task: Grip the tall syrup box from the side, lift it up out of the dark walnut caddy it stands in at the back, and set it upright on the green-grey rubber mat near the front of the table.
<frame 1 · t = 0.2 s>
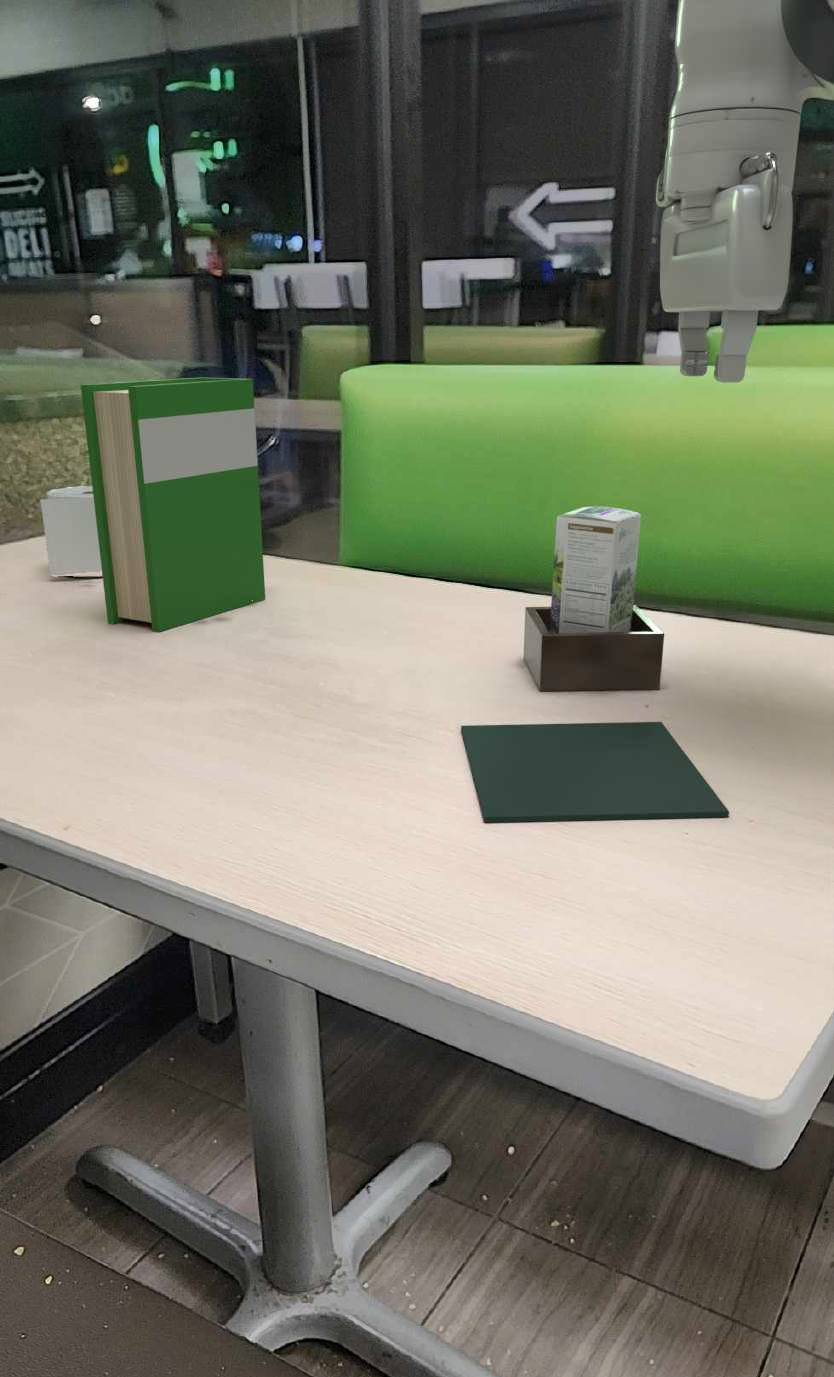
hand: (709, 379, 85), 26 cm above the table, tool pointing down, fingers open, 8 cm apart
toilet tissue: (98, 572, 147), on the table
mat: (581, 769, 81), on the table
hardback book: (190, 612, 127), on the table
caddy: (588, 673, 103), on the table
syrup box: (588, 675, 104), resting in caddy
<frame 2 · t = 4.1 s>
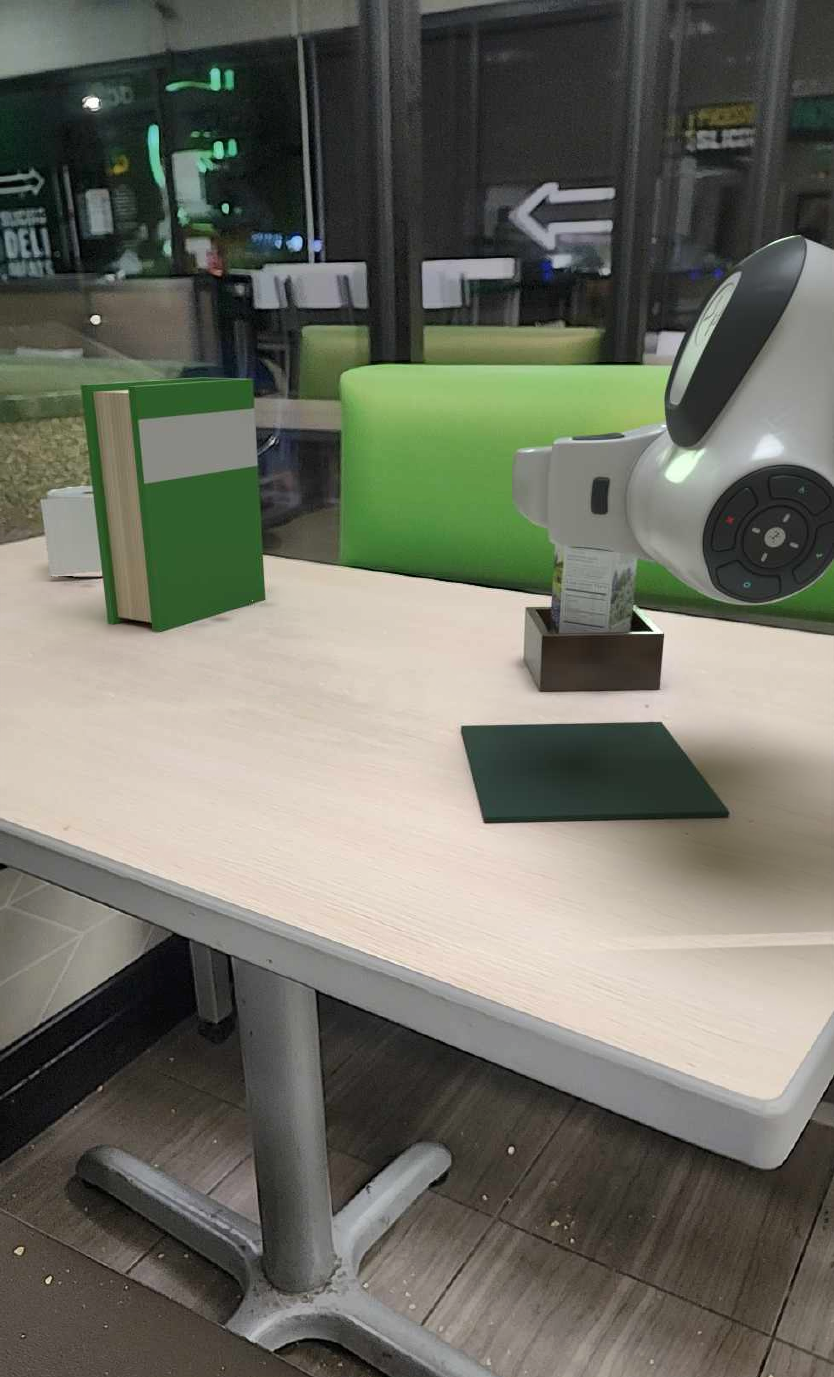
hand: (639, 467, 83), 20 cm above the table, tool horizontal, fingers open, 8 cm apart
nothing on the table moved.
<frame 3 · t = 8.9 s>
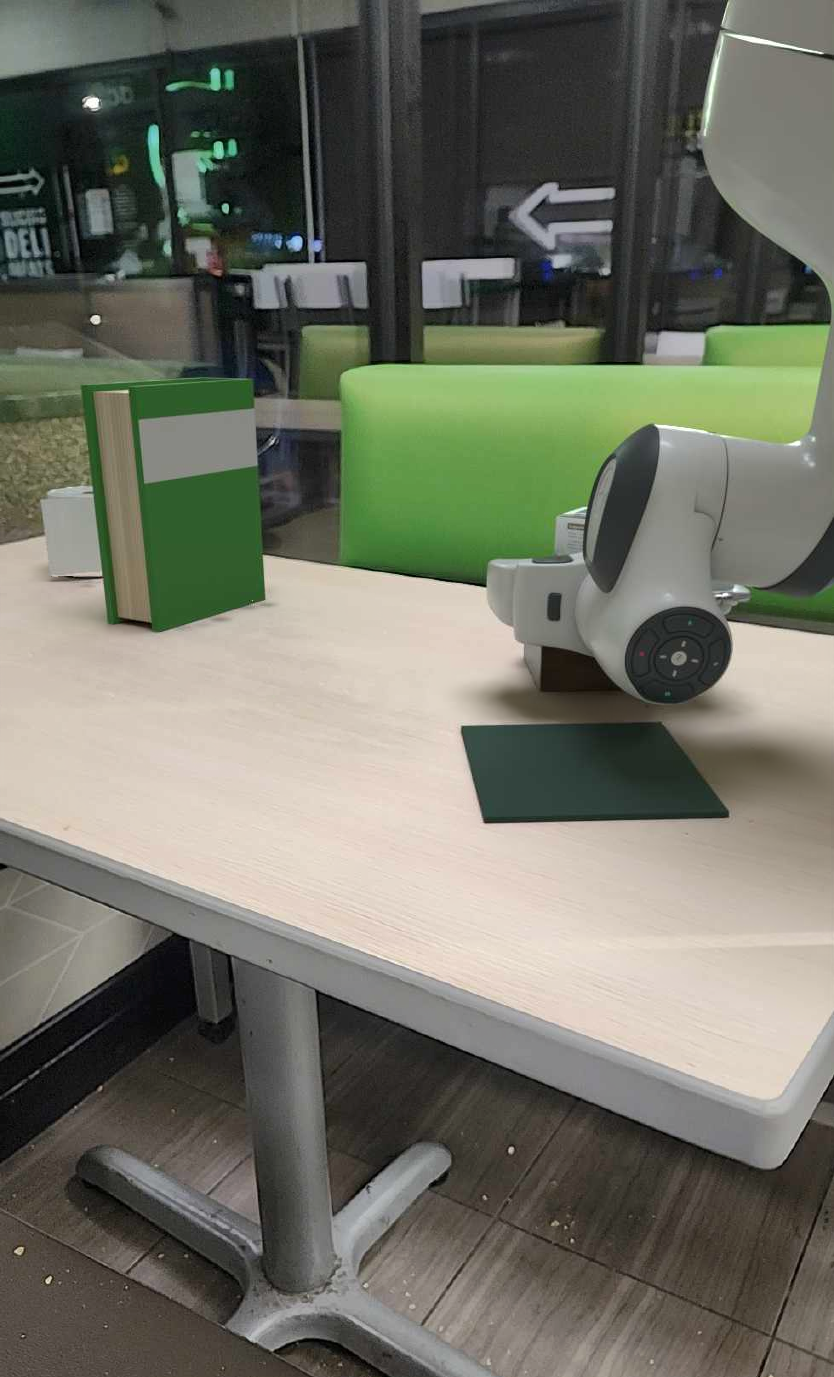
hand: (592, 566, 100), 10 cm above the table, tool horizontal, fingers closed on syrup box, 8 cm apart
syrup box: (588, 675, 104), resting in caddy, touching gripper
everything else where it was.
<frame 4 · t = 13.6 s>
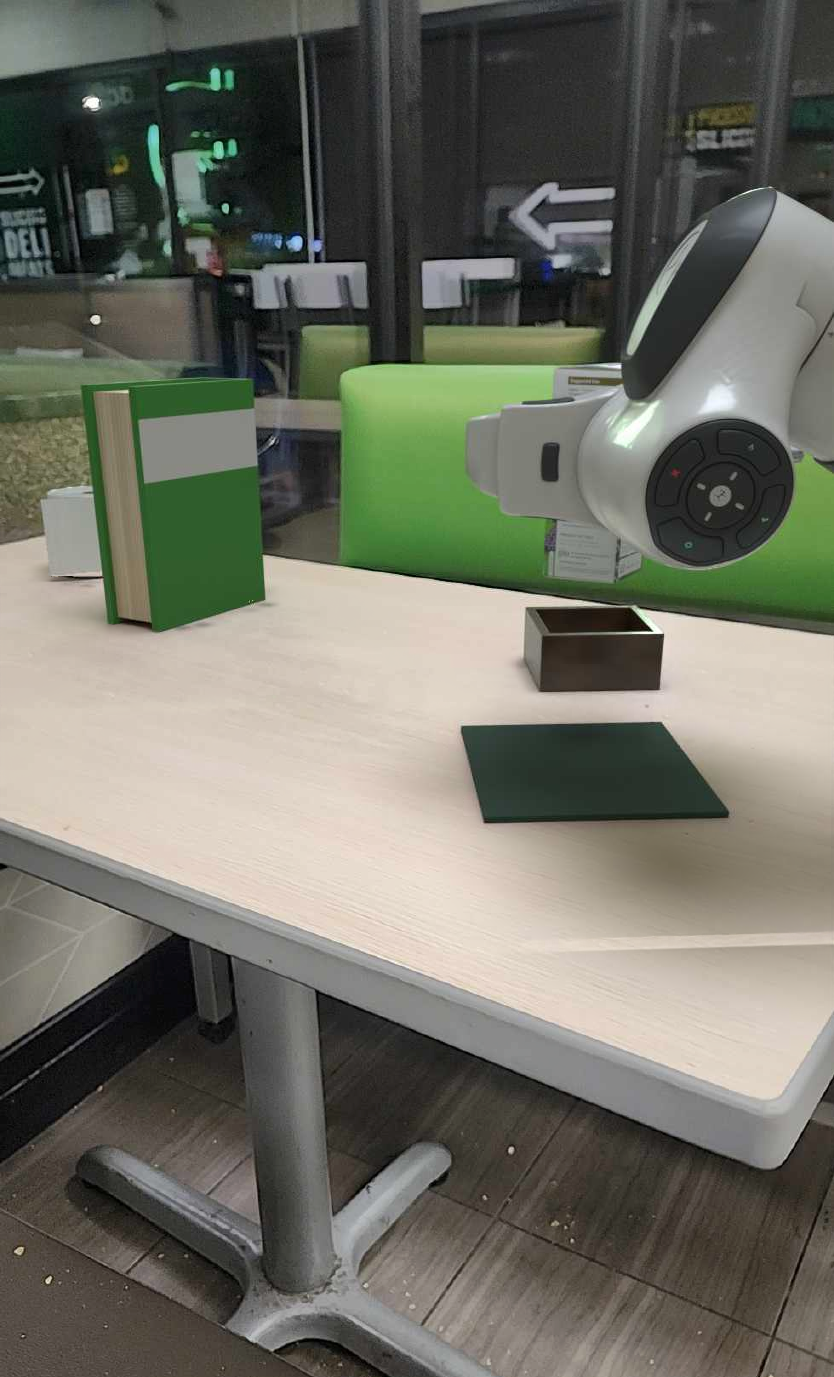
hand: (599, 438, 80), 22 cm above the table, tool horizontal, fingers closed on syrup box, 8 cm apart
syrup box: (594, 578, 83), point 12 cm above the table, touching gripper
everything else where it was.
when the fingers open (10 cm above the table, at t = 18.5 s): syrup box stays where it is, resting on mat.
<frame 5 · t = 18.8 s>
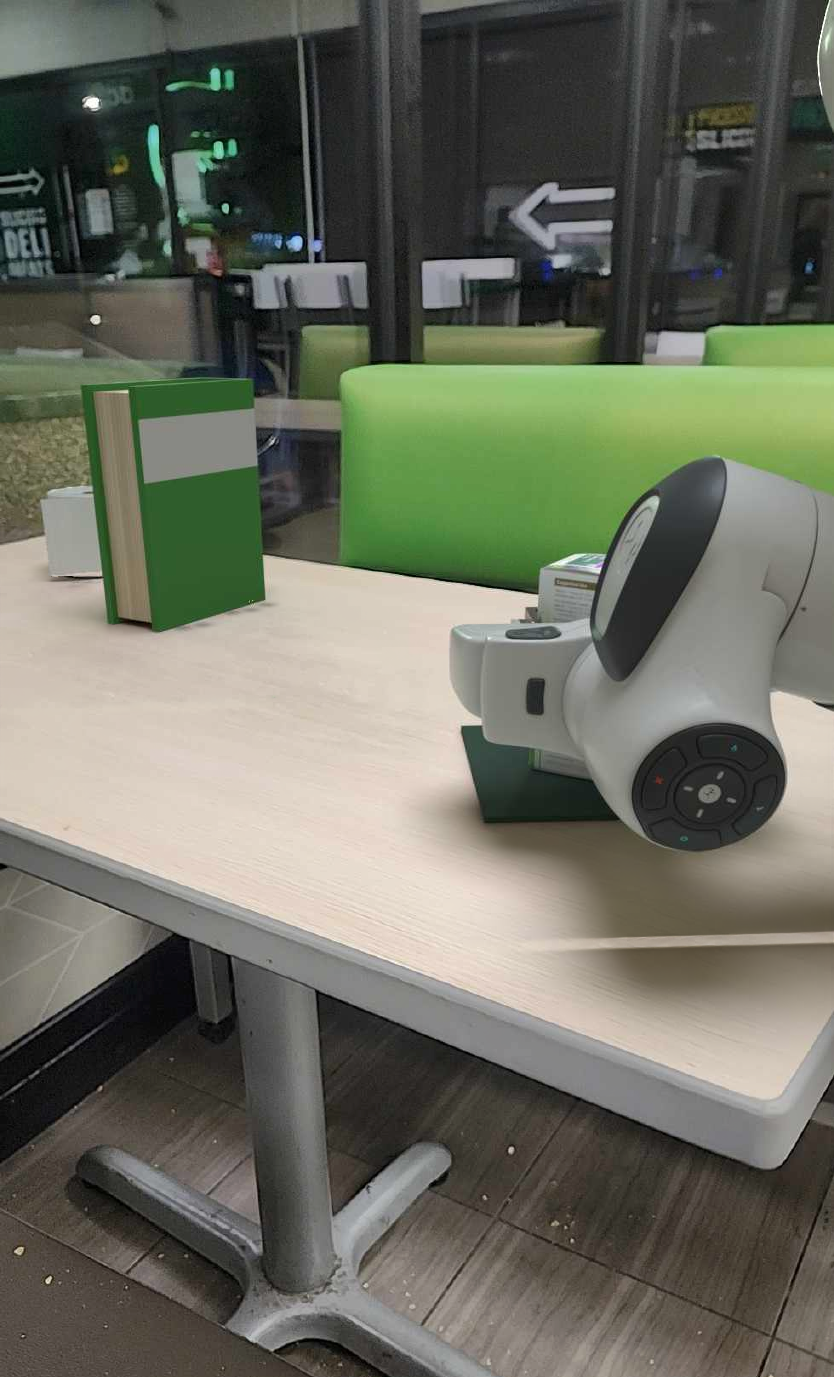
hand: (588, 629, 78), 10 cm above the table, tool horizontal, fingers open, 8 cm apart
syrup box: (581, 767, 81), resting on mat
everything else where it was.
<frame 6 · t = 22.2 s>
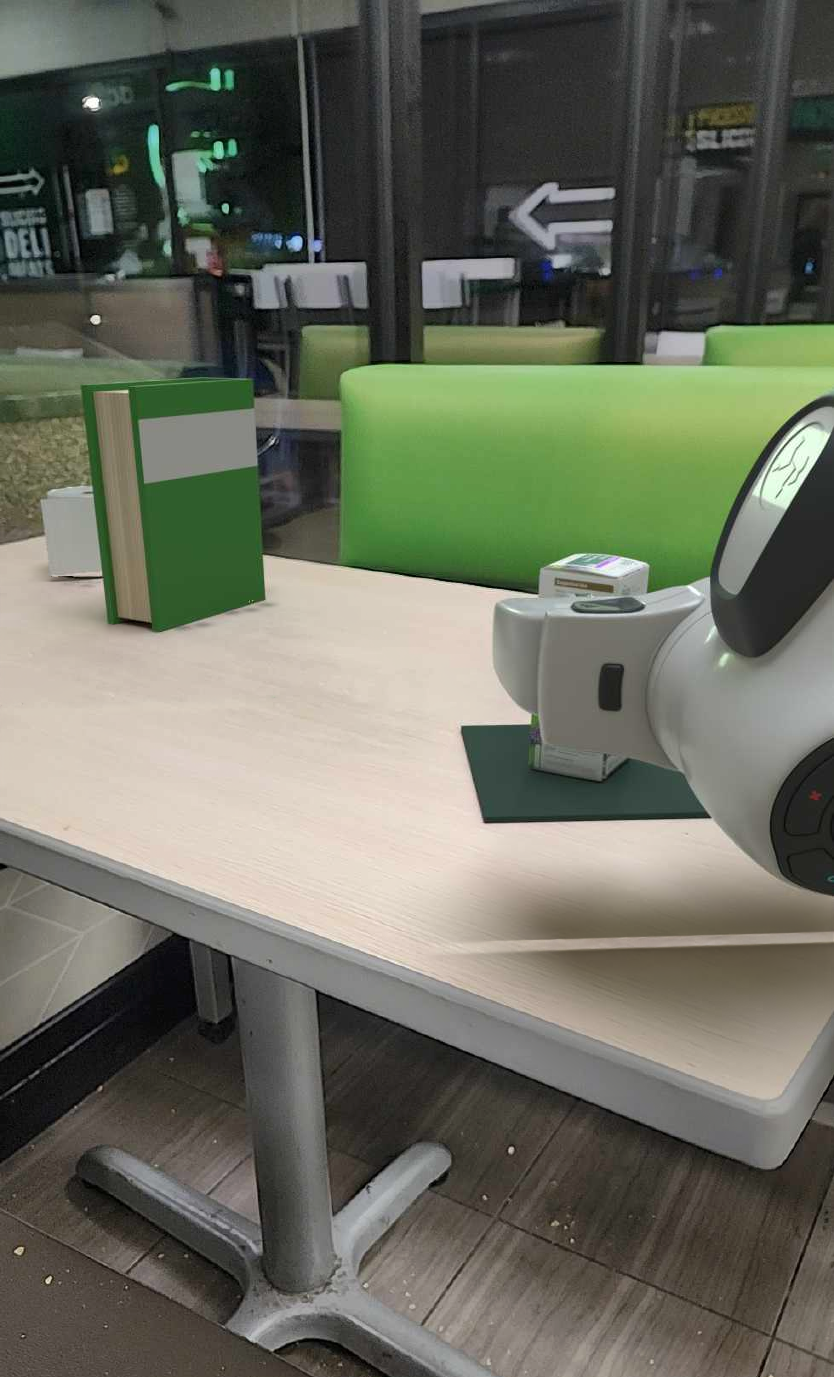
hand: (659, 606, 64), 15 cm above the table, tool horizontal, fingers open, 8 cm apart
nothing on the table moved.
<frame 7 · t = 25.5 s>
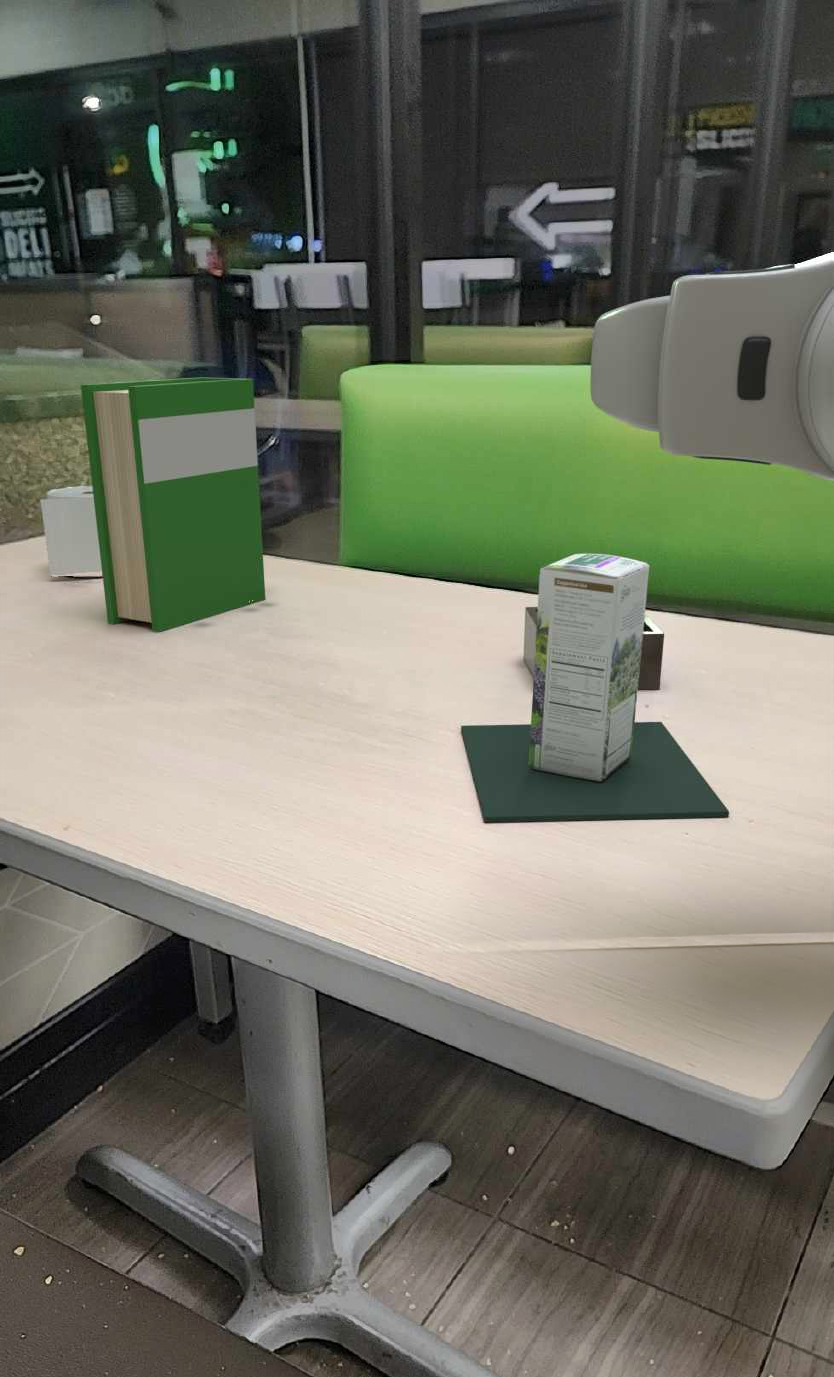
hand: (772, 356, 56), 28 cm above the table, tool horizontal, fingers open, 8 cm apart
nothing on the table moved.
at the end: syrup box inside the target area on the mat (0.1 cm from its centre), point 0.2 cm above the mat's base; syrup box tilted 0°; syrup box touching mat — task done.
